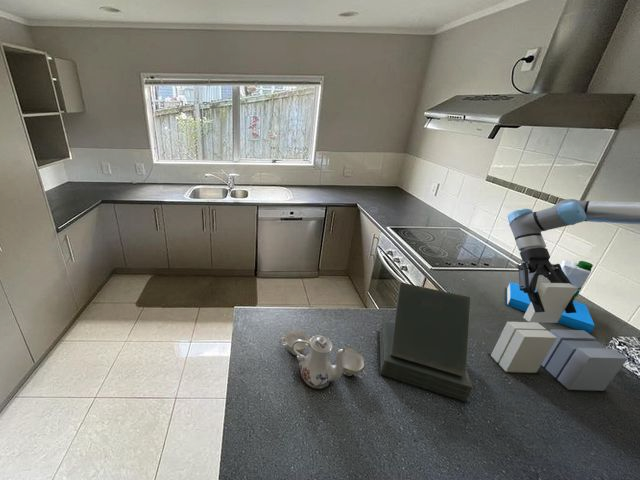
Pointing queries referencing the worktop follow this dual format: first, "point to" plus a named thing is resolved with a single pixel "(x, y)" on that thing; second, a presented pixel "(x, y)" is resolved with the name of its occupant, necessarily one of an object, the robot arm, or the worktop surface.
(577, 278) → the milk carton
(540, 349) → the white books
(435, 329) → the dark grey display stand
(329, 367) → the chinaware
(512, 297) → the book
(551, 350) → the grey books
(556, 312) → the thin white book
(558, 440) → the worktop surface
